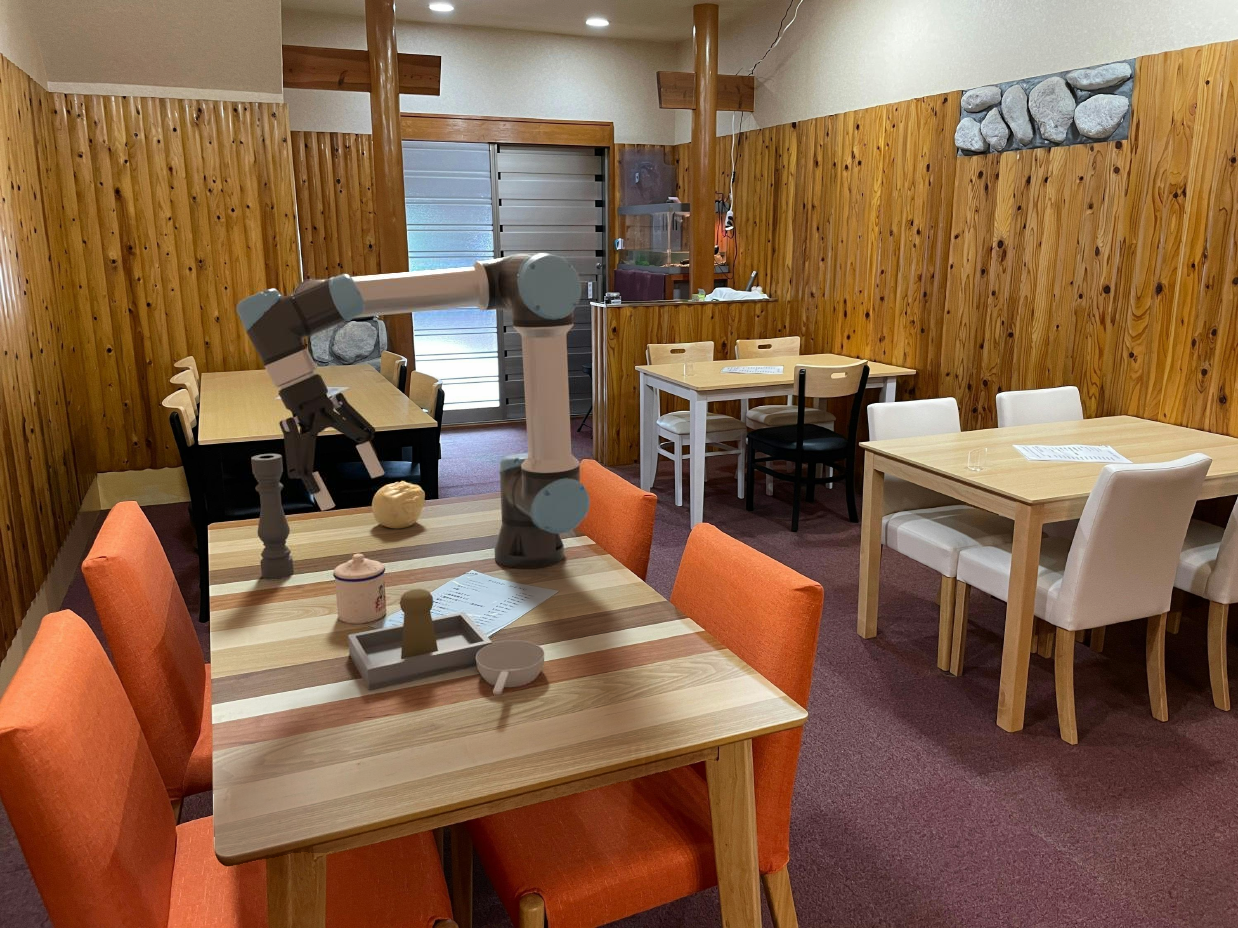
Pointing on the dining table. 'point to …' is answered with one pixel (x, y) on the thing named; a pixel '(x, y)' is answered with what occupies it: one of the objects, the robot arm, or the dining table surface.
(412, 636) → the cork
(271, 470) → the candle holder
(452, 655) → the tray
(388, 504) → the pale yellow lumpy ball
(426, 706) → the dining table surface
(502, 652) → the saucepan
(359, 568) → the teacup with lid
